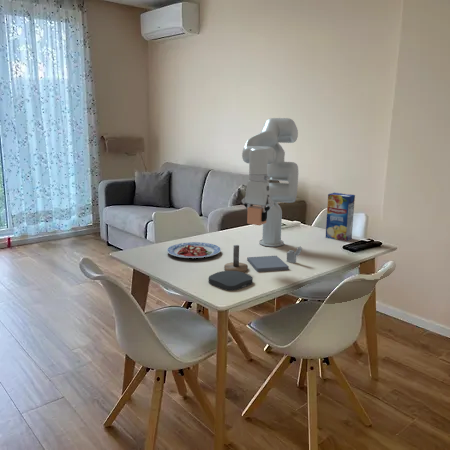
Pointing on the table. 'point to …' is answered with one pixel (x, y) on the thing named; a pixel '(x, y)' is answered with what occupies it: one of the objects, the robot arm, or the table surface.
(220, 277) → the media streaming box
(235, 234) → the table surface
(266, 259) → the mat
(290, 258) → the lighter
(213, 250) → the ceramic plate
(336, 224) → the juice carton
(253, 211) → the peach cube block
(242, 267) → the round pedestal stand
